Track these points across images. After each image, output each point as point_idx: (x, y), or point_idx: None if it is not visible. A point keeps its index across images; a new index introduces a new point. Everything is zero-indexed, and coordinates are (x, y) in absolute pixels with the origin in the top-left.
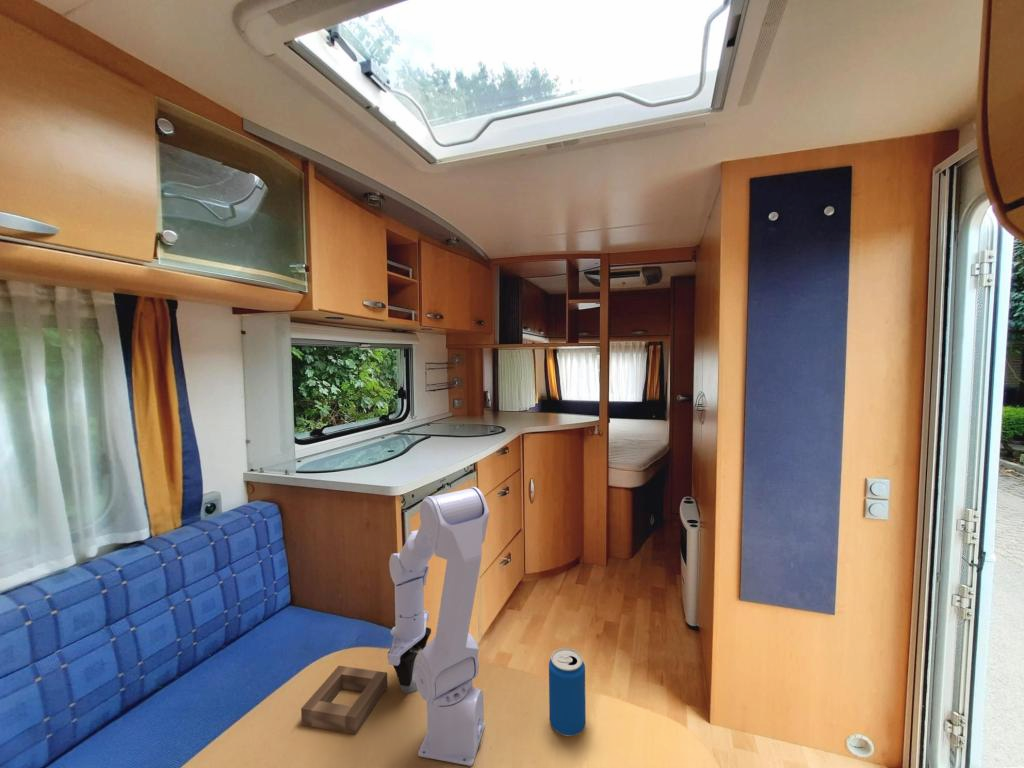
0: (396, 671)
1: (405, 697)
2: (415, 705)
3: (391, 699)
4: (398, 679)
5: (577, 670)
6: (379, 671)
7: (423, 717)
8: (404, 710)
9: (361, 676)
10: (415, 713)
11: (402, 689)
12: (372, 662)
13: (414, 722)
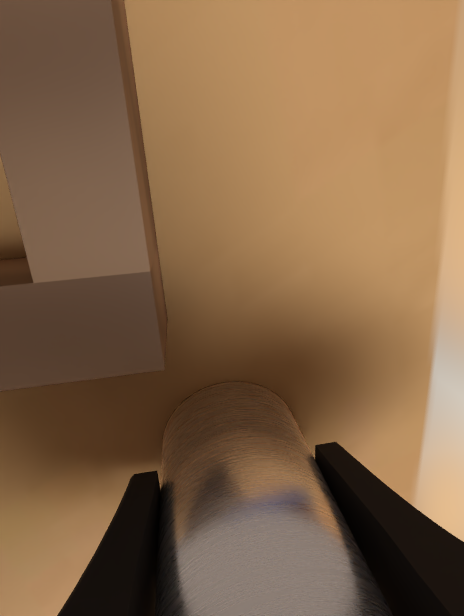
0: (72, 597)
1: (131, 463)
2: (102, 535)
3: (85, 402)
4: (122, 501)
5: None
6: (151, 293)
7: (51, 600)
8: (47, 508)
9: (6, 135)
10: (55, 561)
11: (166, 433)
12: (379, 26)
13: (3, 585)
